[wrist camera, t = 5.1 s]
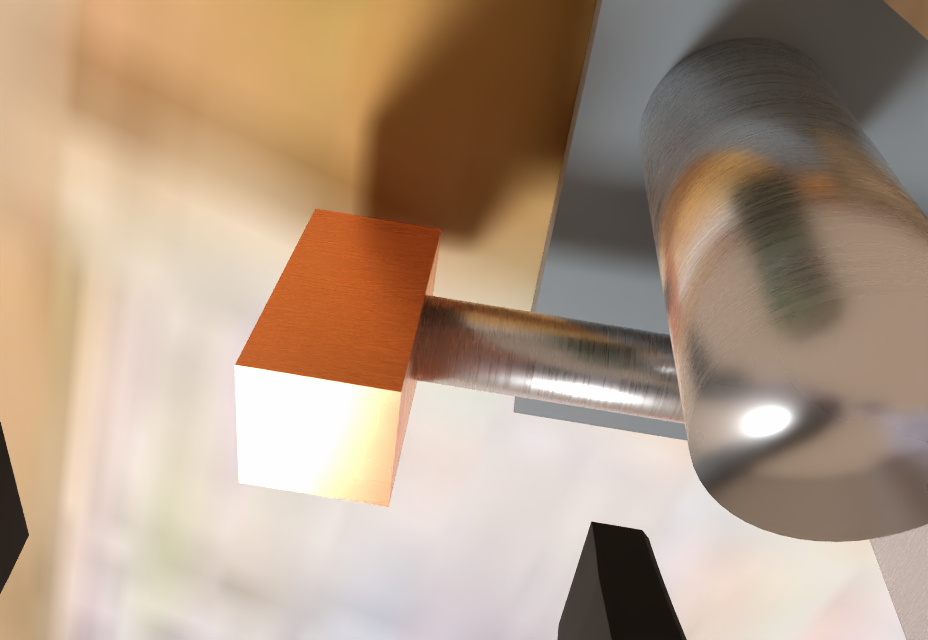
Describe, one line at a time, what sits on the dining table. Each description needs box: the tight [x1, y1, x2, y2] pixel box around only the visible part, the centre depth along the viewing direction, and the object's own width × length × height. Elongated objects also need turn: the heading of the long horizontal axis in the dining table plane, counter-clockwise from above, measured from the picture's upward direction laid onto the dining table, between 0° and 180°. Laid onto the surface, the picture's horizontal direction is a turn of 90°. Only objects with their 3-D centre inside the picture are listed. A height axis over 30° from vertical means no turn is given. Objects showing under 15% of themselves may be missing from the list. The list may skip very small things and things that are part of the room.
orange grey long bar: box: [235, 209, 685, 507], centre depth 14 cm, size 13×2×4 cm, turn 83°
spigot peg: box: [639, 38, 928, 542], centre depth 11 cm, size 3×3×7 cm
